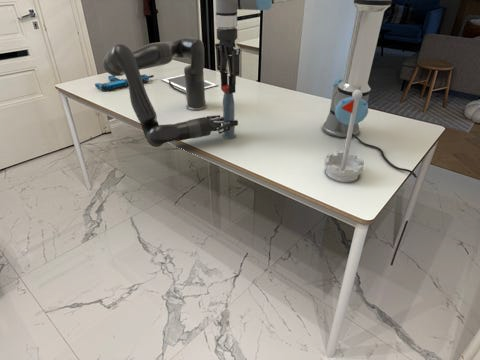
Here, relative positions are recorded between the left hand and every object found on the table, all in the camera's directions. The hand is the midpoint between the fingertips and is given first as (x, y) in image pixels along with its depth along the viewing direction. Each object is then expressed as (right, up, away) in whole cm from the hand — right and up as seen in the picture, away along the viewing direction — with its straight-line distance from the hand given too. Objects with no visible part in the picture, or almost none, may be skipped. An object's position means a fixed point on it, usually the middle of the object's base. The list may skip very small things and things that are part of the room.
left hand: (234, 120), depth 143 cm
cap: (-2, +12, -9) cm, 15 cm away
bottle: (-2, -6, +3) cm, 7 cm away
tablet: (-29, +34, +65) cm, 79 cm away
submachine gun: (-69, +35, +66) cm, 102 cm away
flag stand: (+38, -23, -23) cm, 50 cm away
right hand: (-2, +10, -8) cm, 13 cm away
